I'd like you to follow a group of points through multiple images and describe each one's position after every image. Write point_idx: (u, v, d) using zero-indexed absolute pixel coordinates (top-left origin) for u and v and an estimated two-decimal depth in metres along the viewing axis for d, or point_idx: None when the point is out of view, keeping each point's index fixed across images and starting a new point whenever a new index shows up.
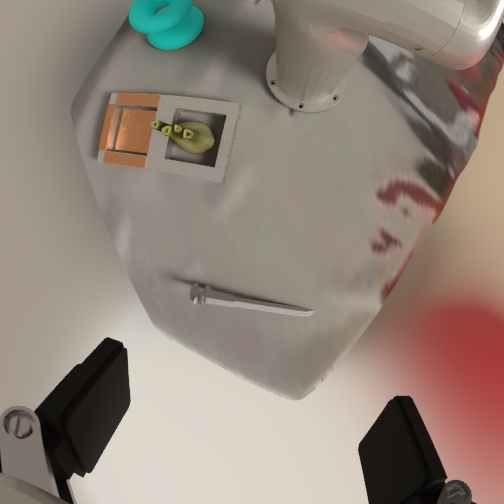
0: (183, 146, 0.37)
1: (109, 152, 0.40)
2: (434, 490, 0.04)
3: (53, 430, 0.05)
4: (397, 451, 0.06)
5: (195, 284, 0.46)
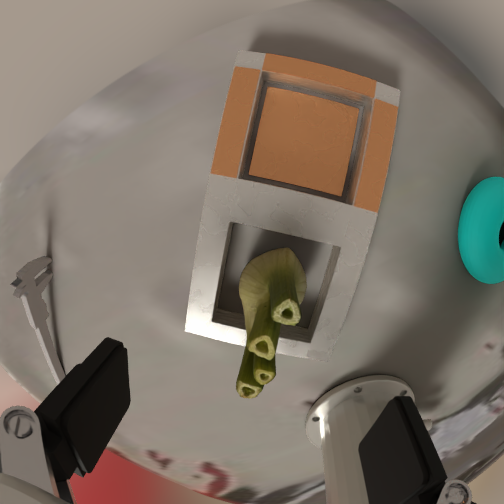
0: (246, 288, 0.18)
1: (256, 80, 0.17)
2: (434, 490, 0.04)
3: (53, 430, 0.05)
4: (397, 451, 0.06)
5: (45, 262, 0.24)
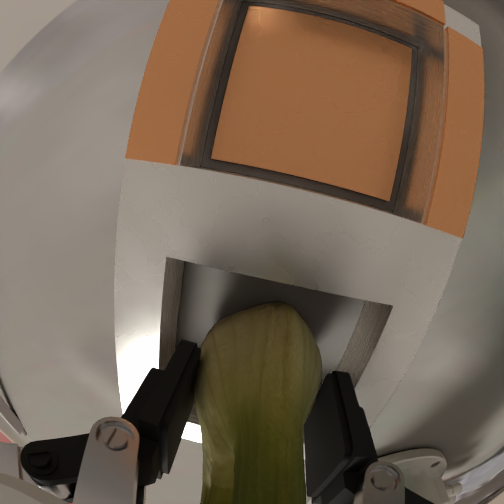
0: (199, 401, 0.08)
1: None
2: (363, 470, 0.06)
3: (148, 436, 0.06)
4: (328, 424, 0.07)
5: None
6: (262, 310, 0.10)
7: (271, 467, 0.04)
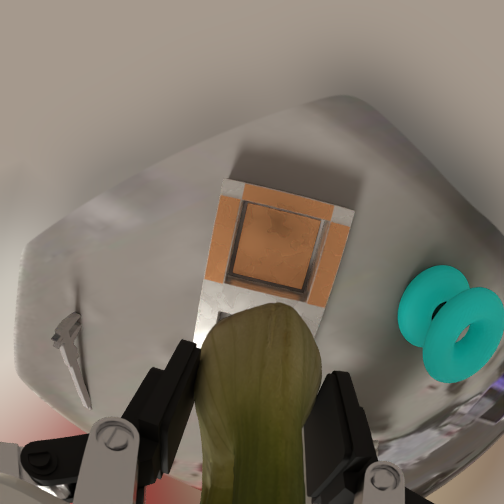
0: (199, 402, 0.08)
1: (237, 209, 0.25)
2: (363, 470, 0.06)
3: (149, 436, 0.06)
4: (328, 425, 0.07)
5: (75, 318, 0.32)
6: (262, 311, 0.10)
7: (271, 468, 0.04)
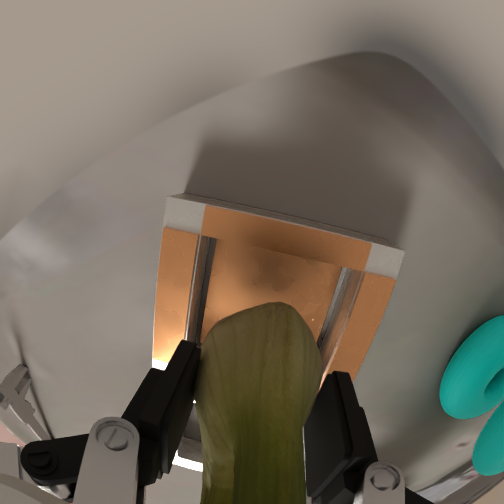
0: (199, 401, 0.08)
1: (193, 252, 0.14)
2: (363, 470, 0.06)
3: (149, 436, 0.06)
4: (328, 424, 0.07)
5: (21, 373, 0.21)
6: (262, 310, 0.10)
7: (271, 468, 0.04)
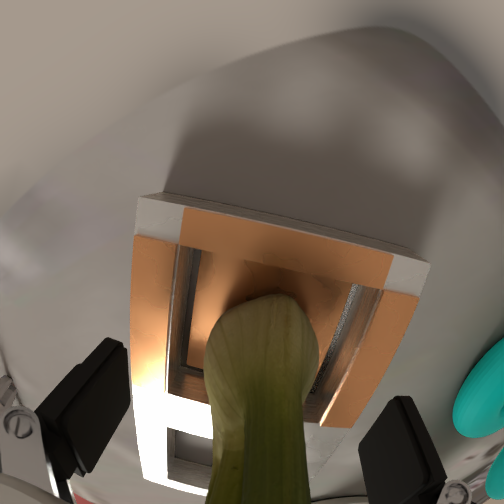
0: (210, 381, 0.09)
1: (171, 266, 0.11)
2: (434, 490, 0.04)
3: (53, 430, 0.05)
4: (397, 451, 0.06)
5: (6, 385, 0.18)
6: (265, 300, 0.11)
7: (276, 422, 0.05)
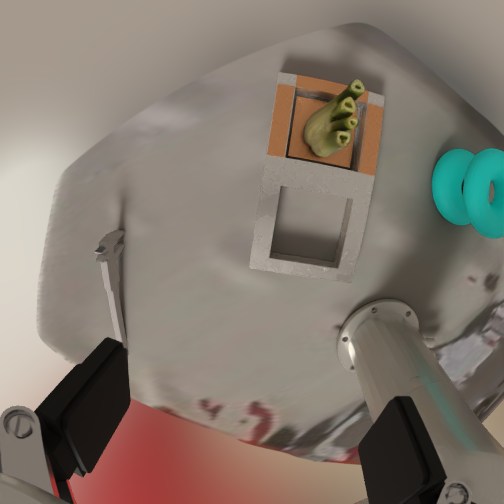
0: (316, 118, 0.25)
1: (292, 93, 0.26)
2: (434, 490, 0.04)
3: (53, 430, 0.05)
4: (397, 451, 0.06)
5: (120, 234, 0.34)
6: None
7: None
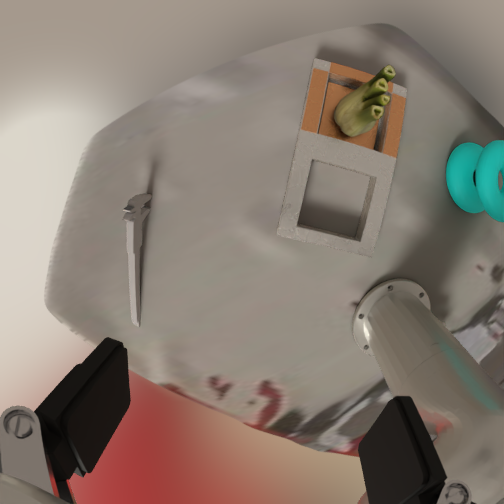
0: (348, 99, 0.26)
1: (326, 78, 0.28)
2: (434, 490, 0.04)
3: (53, 430, 0.05)
4: (397, 451, 0.06)
5: (148, 197, 0.35)
6: None
7: None
